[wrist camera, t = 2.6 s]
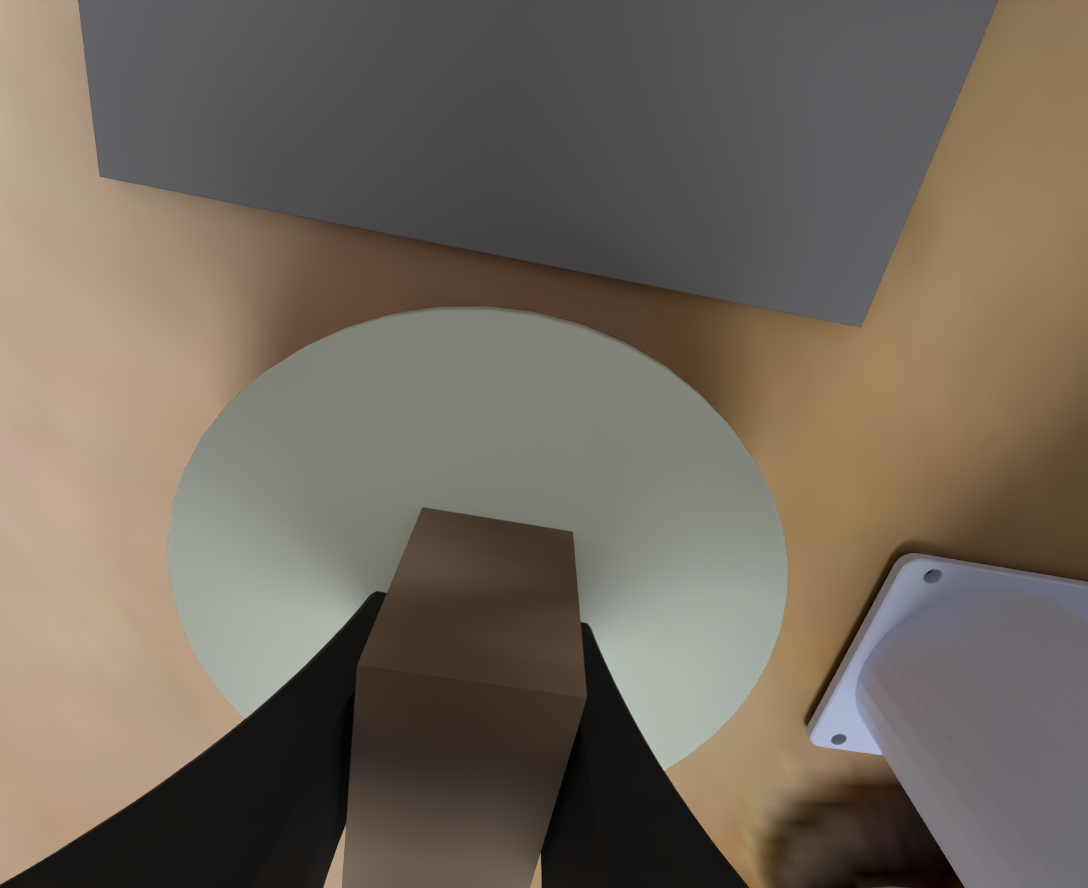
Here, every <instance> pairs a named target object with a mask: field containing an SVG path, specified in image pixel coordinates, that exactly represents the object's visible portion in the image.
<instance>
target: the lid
mask: <svg viewBox="0 0 1088 888" xmlns="http://www.w3.org/2000/svg"><path fill="white" fill-rule="evenodd" d="M168 565H169V576H170V581H171V587H172V592H173V598H174V603H175V606H176V609H177V612H178V615H179V618H180V621H181V624H182V626H183V629H184V632H185V635H186V637H187V639H188V641H189V643H190V645H191V647H192V649H193V650H194V652H195V654H196V656H197V658H198V660H199V662H200V664H201V666H202V667H203V668H204V670H205V671H206V673H207V674H208V676H209V677H210V678H211V680H212V681H213V683H214V684H215V686H216V687H217V688H218V690H219V691H220V692H221V693H222V695H223V696H224V697H225V698H226V699H227V700H228V701H229V702H230V703H231V705H232V706H233V707H234V708H235V709H236V710H237V711H238V712H239V714H240V715H241V716H242V717H244V718H245V719H246V718H247V717H248V716H249V715H251V714H252V713H253V712H254V711H255V710H257V709H258V708H259V707H260V706H261V705H262V704H263V703H265V702H266V701H267V700H268V699H269V698H270V697H271V696H272V695H273V694H274V693H276V692H277V691H278V690H279V689H280V688H281V687H282V686H283V685H284V684H285V683H287V682H288V681H289V680H290V679H291V678H292V677H293V676H294V675H295V674H296V673H298V672H299V671H300V670H301V669H302V668H303V667H304V666H305V665H306V664H307V663H308V662H309V661H310V660H311V659H312V658H313V657H314V656H315V655H316V654H317V653H318V652H319V651H320V650H321V649H322V648H323V647H324V646H325V645H326V644H327V643H328V642H329V641H330V640H331V639H332V638H333V636H334V635H335V634H336V633H337V632H338V631H339V630H340V629H341V628H342V627H343V626H344V625H345V624H346V622H347V621H348V620H349V619H350V618H351V617H352V616H353V615H354V613H355V612H356V611H357V610H358V609H359V608H360V606H361V605H362V604H363V603H364V602H365V600H366V599H367V598H368V597H369V595H371V594H372V593H374V592H375V591H379V592H385V593H387V594H386V596H385V599H384V601H383V604H382V606H381V609H380V611H379V613H378V616H377V618H376V621H375V623H374V626H373V628H372V630H371V633H370V635H369V638H368V640H367V643H366V645H365V647H364V650H363V652H362V655H361V657H360V660H359V662H358V664H357V675H356V690H355V704H354V719H353V733H352V748H351V762H350V777H349V792H348V806H347V821H346V835H345V850H344V864H343V879H342V888H530V886H531V882H532V879H533V876H534V872H535V869H536V866H537V862H538V859H539V856H540V852H541V849H542V846H543V842H544V839H545V836H546V832H547V829H548V826H549V822H550V819H551V816H552V812H553V809H554V806H555V802H556V799H557V796H558V792H559V789H560V786H561V782H562V779H563V776H564V773H565V769H566V766H567V763H568V759H569V756H570V753H571V749H572V746H573V743H574V739H575V736H576V733H577V729H578V726H579V723H580V719H581V716H582V713H583V709H584V706H585V703H586V699H587V691H586V679H585V667H584V656H583V644H582V632H581V622H584V623H588V625H589V626H590V627H591V629H592V632H593V634H594V637H595V639H596V641H597V644H598V646H599V649H600V651H601V653H602V655H603V658H604V660H605V662H606V664H607V666H608V669H609V671H610V673H611V675H612V677H613V679H614V681H615V683H616V685H617V687H618V690H619V692H620V694H621V695H622V697H623V699H624V701H625V703H626V705H627V707H628V709H629V711H630V713H631V715H632V716H633V718H634V720H635V722H636V724H637V726H638V728H639V729H640V731H641V733H642V735H643V736H644V738H645V740H646V742H647V743H648V745H649V747H650V748H651V750H652V752H653V753H654V755H655V757H656V759H657V760H658V762H659V764H660V765H661V767H662V768H663V770H666V769H667V768H669V767H670V766H672V765H673V764H675V763H677V762H678V761H680V760H681V759H683V758H684V757H686V756H688V755H689V754H690V753H692V752H693V751H694V750H695V749H697V748H698V747H699V746H700V745H702V744H703V743H704V742H705V741H707V740H708V739H709V738H710V737H712V736H713V735H714V734H715V733H716V732H717V731H718V730H719V729H720V728H721V727H722V726H723V725H724V724H725V723H726V722H727V721H728V720H729V719H730V718H731V717H732V716H733V715H734V713H735V712H736V711H737V710H738V708H739V707H740V706H741V704H742V703H743V702H744V700H745V699H746V698H747V696H748V695H749V694H750V692H751V691H752V690H753V688H754V687H755V685H756V683H757V681H758V679H759V678H760V676H761V674H762V672H763V670H764V669H765V667H766V665H767V663H768V661H769V659H770V656H771V654H772V651H773V648H774V646H775V643H776V640H777V638H778V635H779V633H780V628H781V624H782V619H783V614H784V609H785V604H786V598H787V575H788V564H787V556H786V548H785V540H784V532H783V529H782V526H781V522H780V519H779V515H778V512H777V509H776V505H775V502H774V498H773V496H772V494H771V492H770V490H769V488H768V486H767V484H766V482H765V480H764V478H763V476H762V474H761V471H760V469H759V467H758V465H757V464H756V462H755V461H754V459H753V458H752V456H751V455H750V453H749V452H748V451H747V449H746V448H745V446H744V445H743V443H742V442H741V441H740V439H739V438H738V436H737V435H736V433H735V432H734V431H733V429H732V428H731V427H730V426H729V425H728V424H727V422H726V421H725V420H724V419H723V418H722V417H721V416H720V415H719V414H718V413H717V412H716V410H715V409H714V408H713V407H712V406H711V405H710V404H709V403H708V402H707V401H706V400H705V399H704V398H703V397H702V396H701V395H700V394H699V393H698V392H697V390H695V389H694V388H693V387H692V386H690V385H689V384H688V383H686V382H685V381H684V380H683V379H681V378H680V377H679V376H678V375H676V374H675V373H674V372H672V371H671V370H670V369H669V368H667V367H666V366H665V365H664V364H662V363H660V362H659V361H657V360H655V359H654V358H652V357H650V356H648V355H647V354H645V353H643V352H641V351H640V350H638V349H636V348H635V347H633V346H631V345H629V344H628V343H626V342H624V341H622V340H619V339H617V338H615V337H612V336H610V335H607V334H605V333H602V332H600V331H597V330H595V329H593V328H590V327H588V326H585V325H583V324H580V323H576V322H572V321H568V320H565V319H561V318H557V317H553V316H549V315H545V314H542V313H538V312H533V311H524V310H516V309H508V308H500V307H492V306H439V307H433V308H426V309H419V310H412V311H405V312H398V313H392V314H389V315H385V316H382V317H379V318H375V319H372V320H368V321H365V322H361V323H358V324H355V325H351V326H348V327H346V328H344V329H342V330H339V331H337V332H335V333H333V334H331V335H328V336H326V337H324V338H322V339H320V340H318V341H315V342H313V343H311V344H309V345H307V346H305V347H304V348H302V349H300V350H298V351H297V352H295V353H293V354H292V355H290V356H289V357H287V358H286V359H284V360H283V361H281V362H280V363H278V364H277V365H275V366H273V367H272V368H270V369H269V370H267V371H266V372H264V373H263V374H261V375H260V376H258V377H257V378H256V379H255V380H254V381H253V382H252V383H250V384H249V385H248V386H247V387H246V388H245V389H244V390H243V391H242V392H240V393H239V394H238V395H237V396H236V397H235V398H234V399H233V400H232V401H231V402H229V403H228V404H227V405H226V407H225V408H224V409H223V410H222V412H221V413H220V414H219V416H218V417H217V418H216V419H215V421H214V422H213V423H212V424H211V426H210V427H209V428H208V429H207V431H206V432H205V433H204V434H203V436H202V438H201V439H200V441H199V443H198V445H197V447H196V449H195V451H194V452H193V454H192V456H191V458H190V460H189V462H188V463H187V465H186V467H185V469H184V472H183V475H182V478H181V481H180V484H179V487H178V490H177V493H176V496H175V499H174V502H173V507H172V514H171V520H170V527H169V534H168Z"/></svg>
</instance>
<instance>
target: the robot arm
mask: <svg viewBox="0 0 1088 888" xmlns="http://www.w3.org/2000/svg"><path fill="white" fill-rule="evenodd" d="M932 569H933V570H932ZM930 570H932V571H931V572H930V573H929V574H926V573H927V572H928V571H930ZM925 574H926V575H925ZM386 594H387V593H385V592H379V591H375V592H374V593H372V594H371V595H369V597H368V598H367V599H366V600H365V602H364V603H363V604H362V605H361V606H360V608H359V609H358V610H357V611H356V612H355V613H354V615H353V616H352V617H351V618H350V619H349V620H348V621H347V622H346V624H345V625H344V626H343V627H342V628H341V629H340V630H339V631H338V632H337V633H336V634H335V635H334V636H333V638H332V639H331V640H330V641H329V642H328V643H327V644H326V645H325V646H324V647H323V648H322V649H321V650H320V651H319V652H318V653H317V654H316V655H315V656H314V657H313V658H312V659H311V660H310V661H309V662H308V663H307V664H306V665H305V666H304V667H303V668H302V669H301V670H300V671H299V672H298V673H296V674H295V675H294V676H293V677H292V678H291V679H290V680H289V681H288V682H287V683H285V684H284V685H283V686H282V687H281V688H280V689H279V690H278V691H277V692H276V693H274V694H273V695H272V696H271V697H270V698H269V699H268V700H267V701H266V702H265V703H263V704H262V705H261V706H260V707H259V708H258V709H257V710H255V711H254V712H253V713H252V714H251V715H249V716H248V717H247V718H246V719H245V720H243V721H242V722H241V723H240V724H239V725H237V726H236V727H235V728H234V729H232V730H231V731H230V732H229V733H227V734H226V735H225V736H224V737H222V738H221V739H220V740H219V741H217V742H216V743H215V744H213V745H212V746H211V747H210V748H208V749H207V750H206V751H204V752H203V753H202V754H200V755H199V756H198V757H196V758H195V759H194V760H192V761H191V762H189V763H188V764H187V765H185V766H184V767H183V768H181V769H180V770H179V771H177V772H176V773H174V774H173V775H172V776H170V777H169V778H168V779H166V780H165V781H163V782H162V783H161V784H159V785H158V786H156V787H155V788H154V789H152V790H151V791H149V792H148V793H146V794H145V795H143V796H142V797H141V798H139V799H138V800H136V801H135V802H133V803H132V804H130V805H129V806H127V807H126V808H124V809H122V810H121V811H119V812H118V813H116V814H115V815H113V816H112V817H110V818H108V819H107V820H105V821H104V822H102V823H101V824H99V825H97V826H96V827H94V828H93V829H91V830H90V831H88V832H86V833H85V834H83V835H82V836H80V837H79V838H77V839H76V840H74V841H72V842H71V843H69V844H68V845H66V846H65V847H63V848H61V849H60V850H58V851H57V852H55V853H54V854H52V855H50V856H49V857H47V858H45V859H44V860H42V861H40V862H39V863H37V864H35V865H34V866H32V867H30V868H29V869H27V870H25V871H24V872H22V873H20V874H18V875H17V876H15V877H13V878H11V879H9V880H8V881H6V882H4V883H2V884H1V885H0V888H323V887H324V884H325V880H326V877H327V874H328V871H329V868H330V866H331V863H332V860H333V857H334V854H335V851H336V848H337V846H338V843H339V840H340V838H341V835H342V833H343V830H344V828H345V825H346V821H347V806H348V792H349V777H350V762H351V748H352V733H353V719H354V704H355V690H356V675H357V664H358V662H359V660H360V657H361V655H362V652H363V650H364V647H365V645H366V643H367V640H368V638H369V635H370V633H371V630H372V628H373V626H374V623H375V621H376V618H377V616H378V613H379V611H380V609H381V606H382V604H383V601H384V599H385V596H386ZM581 632H582V644H583V656H584V667H585V679H586V691H587V699H586V703H585V706H584V709H583V713H582V716H581V719H580V723H579V726H578V729H577V733H576V736H575V739H574V743H573V746H572V749H571V753H570V756H569V759H568V763H567V766H566V769H565V773H564V776H563V779H562V782H561V786H560V789H559V792H558V796H557V799H556V802H555V806H554V809H553V812H552V816H551V819H550V822H549V826H548V829H547V832H546V836H545V839H544V842H543V846H542V849H541V870H542V888H749V887H748V885H747V884H746V883H745V882H744V880H743V879H742V878H741V877H740V875H739V874H738V873H737V872H736V871H735V869H734V868H733V867H732V866H731V864H730V863H729V862H728V861H727V859H726V858H725V857H724V856H723V854H722V853H721V852H720V851H719V849H718V848H717V847H716V845H715V844H714V843H713V841H712V840H711V838H710V837H709V836H708V834H707V833H706V832H705V830H704V829H703V828H702V826H701V825H700V823H699V822H698V821H697V819H696V818H695V817H694V815H693V814H692V812H691V811H690V809H689V808H688V806H687V805H686V803H685V802H684V801H683V799H682V798H681V796H680V795H679V793H678V792H677V790H676V789H675V787H674V786H673V784H672V783H671V781H670V779H669V778H668V776H667V775H666V773H665V772H664V770H663V768H662V767H661V765H660V764H659V762H658V760H657V759H656V757H655V755H654V753H653V752H652V750H651V748H650V747H649V745H648V743H647V742H646V740H645V738H644V736H643V735H642V733H641V731H640V729H639V728H638V726H637V724H636V722H635V720H634V718H633V716H632V715H631V713H630V711H629V709H628V707H627V705H626V703H625V701H624V699H623V697H622V695H621V694H620V692H619V690H618V687H617V685H616V683H615V681H614V679H613V677H612V675H611V673H610V671H609V669H608V666H607V664H606V662H605V660H604V658H603V655H602V653H601V651H600V649H599V646H598V644H597V641H596V639H595V637H594V634H593V632H592V629H591V627H590V626H589V625H588V623H584V622H581ZM806 732H807V735H808V737H809V739H810V741H811V742H812V743H813V744H814V745H817V746H820V747H828V748H835V749H842V750H849V751H856V752H864V753H871V754H878V755H883V756H884V757H885V759H886V760H887V762H888V764H889V765H890V767H891V769H892V770H893V772H894V773H895V775H896V777H897V778H898V780H899V782H900V783H901V785H902V786H903V788H904V790H905V791H906V793H907V794H908V796H909V798H910V799H911V801H912V803H913V804H914V806H915V807H916V809H917V811H918V812H919V814H920V815H921V817H922V819H923V820H924V822H925V824H926V825H927V827H928V828H929V830H930V832H931V833H932V835H933V836H934V838H935V840H936V841H937V843H938V845H939V846H940V848H941V849H942V851H943V853H944V854H945V856H946V858H947V859H948V861H949V862H950V864H951V866H952V867H953V869H954V870H955V872H956V874H957V875H958V877H959V879H960V880H961V882H962V883H963V885H964V887H965V888H1088V582H1086V581H1080V580H1074V579H1068V578H1062V577H1057V576H1051V575H1045V574H1039V573H1033V572H1027V571H1021V570H1015V569H1009V568H1003V567H997V566H991V565H985V564H979V563H973V562H967V561H961V560H955V559H949V558H943V557H937V556H931V555H925V554H919V553H910V554H907V555H904V556H902V557H901V558H899V559H898V560H897V561H896V563H895V564H894V566H893V567H892V569H891V571H890V573H889V575H888V577H887V579H886V581H885V582H884V584H883V586H882V588H881V590H880V592H879V594H878V595H877V597H876V599H875V601H874V603H873V605H872V607H871V608H870V610H869V612H868V614H867V616H866V618H865V620H864V622H863V623H862V625H861V627H860V629H859V631H858V633H857V635H856V636H855V638H854V640H853V642H852V644H851V646H850V648H849V649H848V651H847V653H846V655H845V657H844V659H843V661H842V663H841V664H840V666H839V668H838V670H837V672H836V674H835V676H834V677H833V679H832V681H831V683H830V685H829V687H828V689H827V691H826V692H825V694H824V696H823V698H822V700H821V702H820V704H819V705H818V707H817V709H816V711H815V713H814V715H813V717H812V718H811V720H810V722H809V724H808V726H807V729H806Z"/></svg>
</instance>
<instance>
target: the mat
mask: <svg viewBox="0 0 1088 888" xmlns="http://www.w3.org/2000/svg"><path fill="white" fill-rule="evenodd" d="M997 2H998V0H78V3H79V11H80V19H81V27H82V35H83V44H84V52H85V60H86V68H87V76H88V84H89V93H90V101H91V109H92V117H93V125H94V133H95V142H96V150H97V158H98V166H99V174H100V177H104V178H110V179H115V180H120V181H125V182H130V183H135V184H140V185H145V186H150V187H155V188H160V189H165V190H170V191H175V192H180V193H185V194H190V195H195V196H200V197H205V198H210V199H216V200H221V201H226V202H231V203H236V204H241V205H246V206H251V207H256V208H261V209H266V210H271V211H276V212H281V213H286V214H291V215H296V216H301V217H306V218H311V219H316V220H322V221H327V222H332V223H337V224H342V225H347V226H352V227H357V228H362V229H367V230H372V231H377V232H382V233H387V234H392V235H397V236H402V237H407V238H412V239H417V240H422V241H428V242H433V243H438V244H443V245H448V246H453V247H458V248H463V249H468V250H473V251H478V252H483V253H488V254H493V255H498V256H503V257H508V258H513V259H518V260H523V261H528V262H534V263H539V264H544V265H549V266H554V267H559V268H564V269H569V270H574V271H579V272H584V273H589V274H594V275H599V276H604V277H609V278H614V279H619V280H624V281H629V282H634V283H640V284H645V285H650V286H655V287H660V288H665V289H670V290H675V291H680V292H685V293H690V294H695V295H700V296H705V297H710V298H715V299H720V300H725V301H730V302H735V303H740V304H746V305H751V306H756V307H761V308H766V309H771V310H776V311H781V312H786V313H791V314H796V315H801V316H806V317H811V318H816V319H821V320H826V321H831V322H836V323H841V324H846V325H851V326H857V327H861V326H862V324H863V322H864V319H865V317H866V315H867V312H868V310H869V307H870V305H871V303H872V300H873V298H874V295H875V293H876V291H877V288H878V286H879V284H880V281H881V279H882V276H883V274H884V272H885V269H886V267H887V264H888V262H889V260H890V257H891V255H892V253H893V250H894V248H895V245H896V243H897V241H898V238H899V236H900V234H901V231H902V229H903V226H904V224H905V222H906V219H907V217H908V214H909V212H910V210H911V207H912V205H913V203H914V200H915V198H916V195H917V193H918V191H919V188H920V186H921V183H922V181H923V179H924V176H925V174H926V172H927V169H928V167H929V164H930V162H931V160H932V157H933V155H934V152H935V150H936V148H937V145H938V143H939V141H940V138H941V136H942V133H943V131H944V129H945V126H946V124H947V121H948V119H949V117H950V114H951V112H952V110H953V107H954V105H955V102H956V100H957V98H958V95H959V93H960V90H961V88H962V86H963V83H964V81H965V79H966V76H967V74H968V71H969V69H970V67H971V64H972V62H973V59H974V57H975V55H976V52H977V50H978V48H979V45H980V43H981V40H982V38H983V36H984V33H985V31H986V28H987V26H988V24H989V21H990V19H991V17H992V14H993V12H994V9H995V7H996V5H997Z"/></svg>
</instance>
